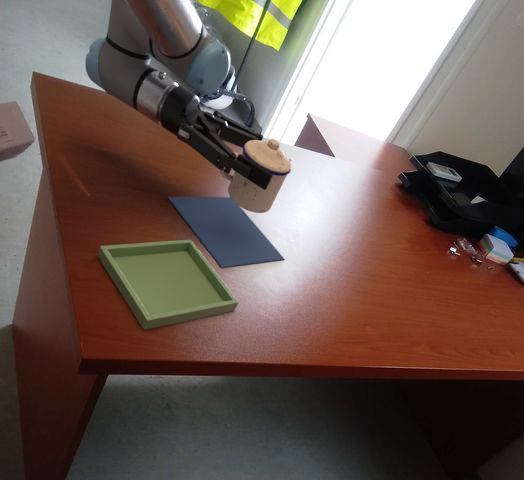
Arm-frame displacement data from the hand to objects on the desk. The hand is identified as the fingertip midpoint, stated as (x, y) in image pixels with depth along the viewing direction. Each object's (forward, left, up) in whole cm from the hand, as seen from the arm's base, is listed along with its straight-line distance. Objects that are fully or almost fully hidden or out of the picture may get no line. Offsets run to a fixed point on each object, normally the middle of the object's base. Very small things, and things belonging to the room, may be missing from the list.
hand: (278, 174), depth 80 cm
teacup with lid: (-4, -2, -7) cm, 8 cm away
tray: (+8, -22, -15) cm, 28 cm away
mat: (-4, -2, -15) cm, 16 cm away
